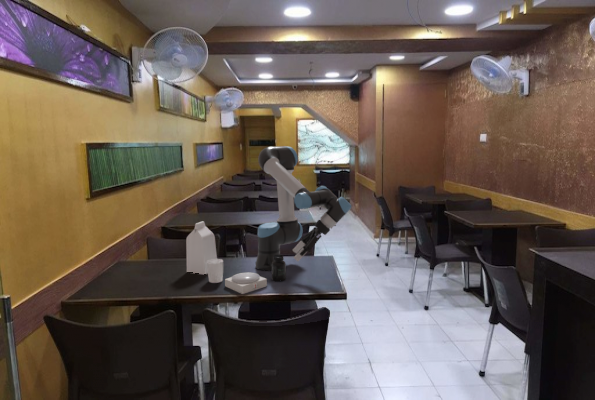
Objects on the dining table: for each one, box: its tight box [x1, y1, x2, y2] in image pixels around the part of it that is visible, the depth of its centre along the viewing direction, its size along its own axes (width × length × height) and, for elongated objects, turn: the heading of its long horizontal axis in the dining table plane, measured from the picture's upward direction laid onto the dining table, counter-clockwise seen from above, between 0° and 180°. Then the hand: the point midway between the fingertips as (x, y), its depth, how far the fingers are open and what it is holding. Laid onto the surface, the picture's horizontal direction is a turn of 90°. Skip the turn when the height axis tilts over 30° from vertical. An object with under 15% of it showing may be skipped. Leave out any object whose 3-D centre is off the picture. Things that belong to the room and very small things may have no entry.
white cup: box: [207, 258, 224, 284], centre depth 200 cm, size 8×8×10 cm
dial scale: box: [224, 271, 268, 295], centre depth 192 cm, size 15×14×5 cm
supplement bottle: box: [271, 254, 287, 283], centre depth 200 cm, size 7×7×12 cm
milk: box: [185, 220, 218, 275], centre depth 216 cm, size 12×12×26 cm
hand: (295, 255), depth 198 cm, fingers open, 13 cm apart
